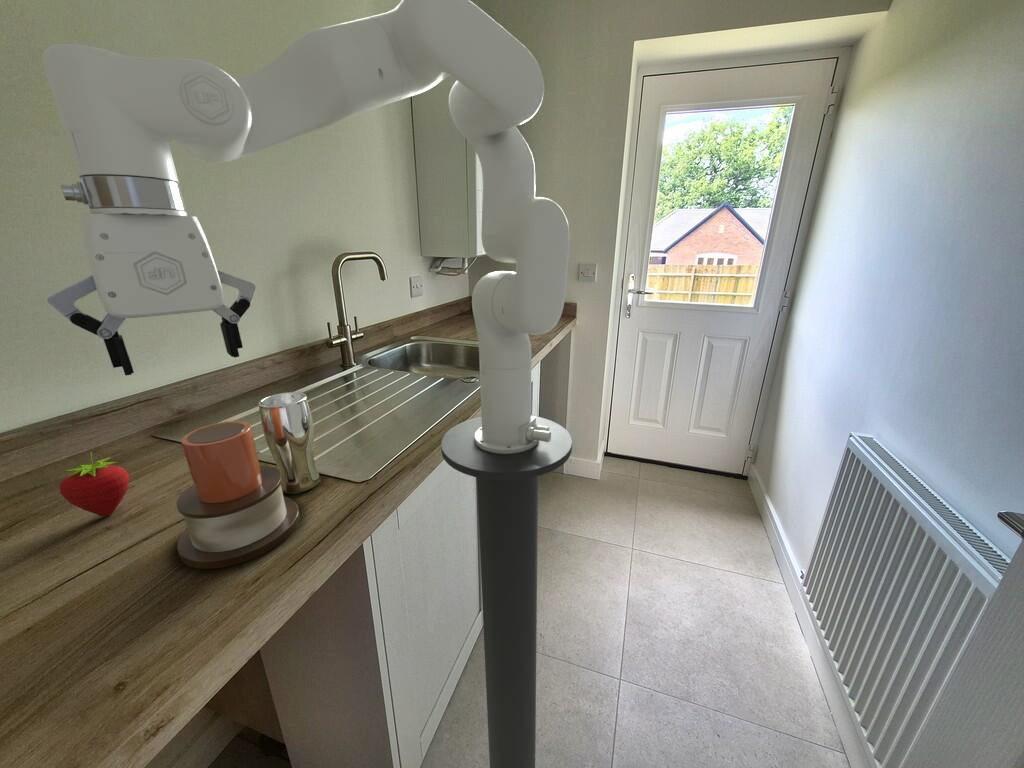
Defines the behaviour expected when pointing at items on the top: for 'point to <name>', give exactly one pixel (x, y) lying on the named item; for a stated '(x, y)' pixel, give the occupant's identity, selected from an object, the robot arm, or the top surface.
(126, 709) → the top surface
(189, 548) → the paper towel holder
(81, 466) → the strawberry
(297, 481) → the beer glass
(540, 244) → the robot arm
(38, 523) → the top surface
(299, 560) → the top surface
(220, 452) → the terracotta cup
